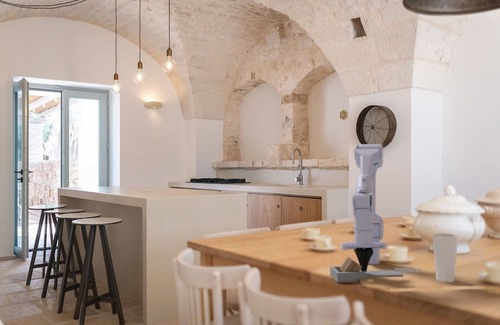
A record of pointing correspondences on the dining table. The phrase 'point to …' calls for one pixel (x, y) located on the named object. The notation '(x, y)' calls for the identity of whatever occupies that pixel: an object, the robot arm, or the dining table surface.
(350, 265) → the block
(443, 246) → the drinking glass
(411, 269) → the plate
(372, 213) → the robot arm
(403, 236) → the dining table surface
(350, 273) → the grey square pan
